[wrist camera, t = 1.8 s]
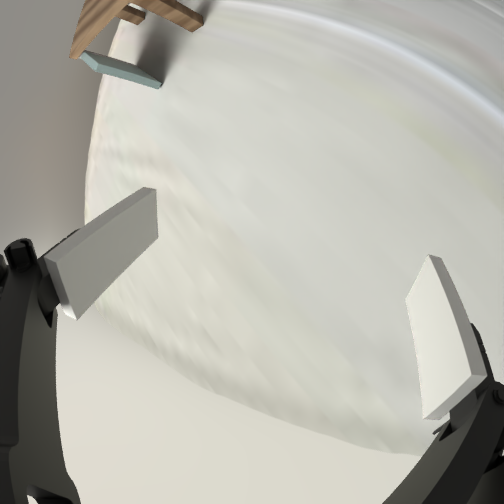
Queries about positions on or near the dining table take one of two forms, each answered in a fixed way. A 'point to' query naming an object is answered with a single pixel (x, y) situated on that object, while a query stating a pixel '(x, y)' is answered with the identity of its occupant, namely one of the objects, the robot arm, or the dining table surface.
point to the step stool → (127, 18)
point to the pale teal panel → (118, 69)
